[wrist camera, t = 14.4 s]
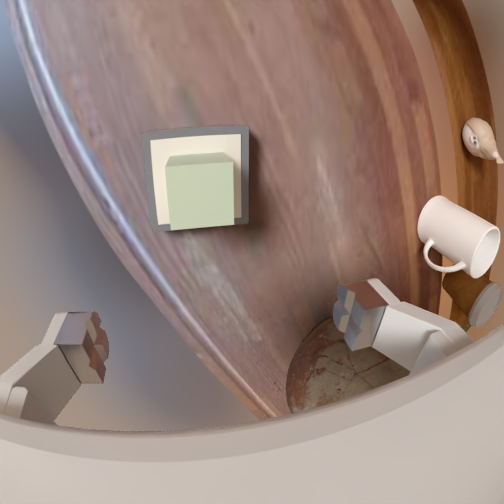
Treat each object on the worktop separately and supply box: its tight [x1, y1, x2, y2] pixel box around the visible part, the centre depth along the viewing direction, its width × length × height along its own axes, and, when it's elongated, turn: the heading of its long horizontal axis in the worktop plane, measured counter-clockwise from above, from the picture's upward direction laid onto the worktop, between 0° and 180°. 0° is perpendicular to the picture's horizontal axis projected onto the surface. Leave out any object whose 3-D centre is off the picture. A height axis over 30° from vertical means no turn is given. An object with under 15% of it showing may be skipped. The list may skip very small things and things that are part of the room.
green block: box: [165, 152, 234, 230], centre depth 23 cm, size 5×5×6 cm
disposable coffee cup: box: [442, 264, 503, 327], centre depth 42 cm, size 10×10×12 cm
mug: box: [417, 196, 500, 278], centre depth 34 cm, size 12×8×12 cm
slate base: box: [142, 125, 249, 232], centre depth 27 cm, size 10×10×3 cm
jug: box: [286, 317, 411, 413], centre depth 32 cm, size 22×22×30 cm
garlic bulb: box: [462, 118, 504, 164], centre depth 30 cm, size 7×6×8 cm
